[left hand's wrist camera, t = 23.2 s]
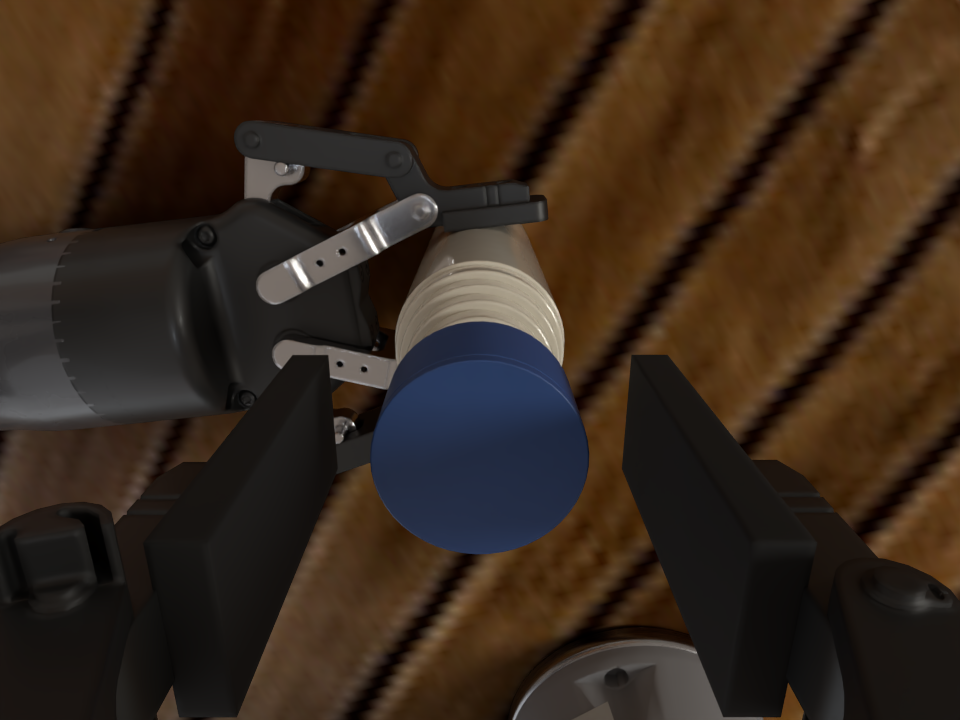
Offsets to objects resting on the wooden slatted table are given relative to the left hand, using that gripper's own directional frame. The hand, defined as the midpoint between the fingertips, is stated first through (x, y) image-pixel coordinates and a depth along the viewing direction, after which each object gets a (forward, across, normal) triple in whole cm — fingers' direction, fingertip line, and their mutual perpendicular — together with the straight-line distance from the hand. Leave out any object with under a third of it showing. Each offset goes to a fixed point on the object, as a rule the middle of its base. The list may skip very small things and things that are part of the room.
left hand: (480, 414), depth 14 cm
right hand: (+11, -3, 0) cm, 12 cm away
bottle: (+18, 0, 0) cm, 18 cm away
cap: (-2, 0, 0) cm, 2 cm away
